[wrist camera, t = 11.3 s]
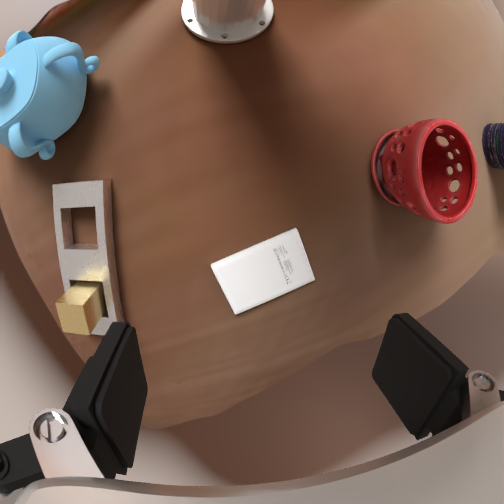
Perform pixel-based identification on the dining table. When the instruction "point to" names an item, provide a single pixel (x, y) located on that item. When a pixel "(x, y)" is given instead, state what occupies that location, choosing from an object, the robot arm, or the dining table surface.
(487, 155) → the storage jar
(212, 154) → the dining table surface
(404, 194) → the plant pot
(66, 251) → the grey slotted plate
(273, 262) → the external hard drive
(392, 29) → the dining table surface
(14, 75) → the decorative pot
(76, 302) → the gold rectangular block
